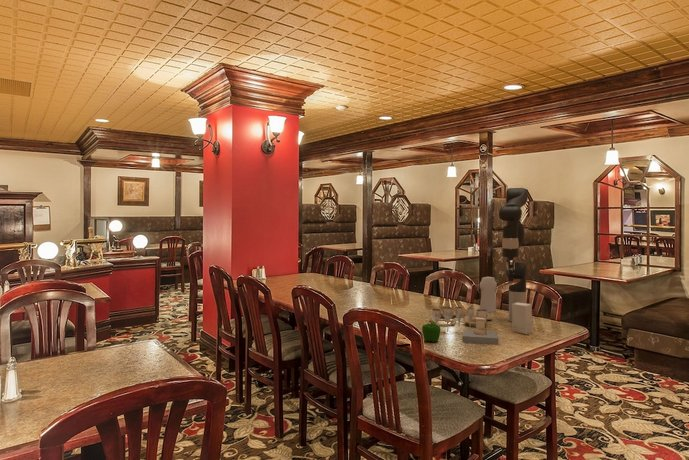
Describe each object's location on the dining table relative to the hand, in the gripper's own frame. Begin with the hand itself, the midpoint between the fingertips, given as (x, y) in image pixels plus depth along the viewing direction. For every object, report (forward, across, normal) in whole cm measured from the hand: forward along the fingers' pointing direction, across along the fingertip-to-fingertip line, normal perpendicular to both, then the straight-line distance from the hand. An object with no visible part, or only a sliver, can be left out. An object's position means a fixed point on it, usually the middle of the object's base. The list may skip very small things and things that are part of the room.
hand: (510, 279), depth 223 cm
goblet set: (+29, -1, -25) cm, 38 cm away
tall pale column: (+30, -54, -10) cm, 63 cm away
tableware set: (+30, -27, -25) cm, 48 cm away
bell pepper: (+28, +17, -37) cm, 50 cm away
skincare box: (+29, -10, +6) cm, 31 cm away
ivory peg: (+28, +8, -14) cm, 33 cm away
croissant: (+28, +27, -54) cm, 67 cm away
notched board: (+28, +10, -14) cm, 33 cm away
